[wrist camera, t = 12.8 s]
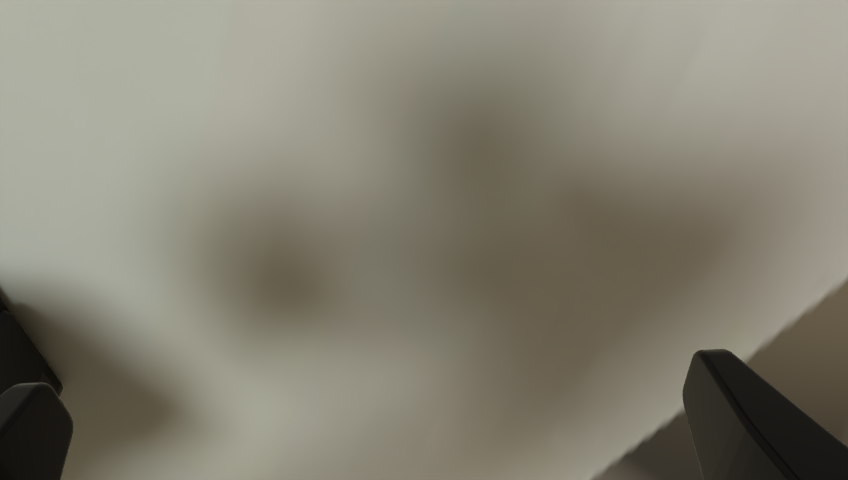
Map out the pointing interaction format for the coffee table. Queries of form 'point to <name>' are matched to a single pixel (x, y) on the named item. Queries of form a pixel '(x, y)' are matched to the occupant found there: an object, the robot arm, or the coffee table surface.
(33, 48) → the coffee table surface
